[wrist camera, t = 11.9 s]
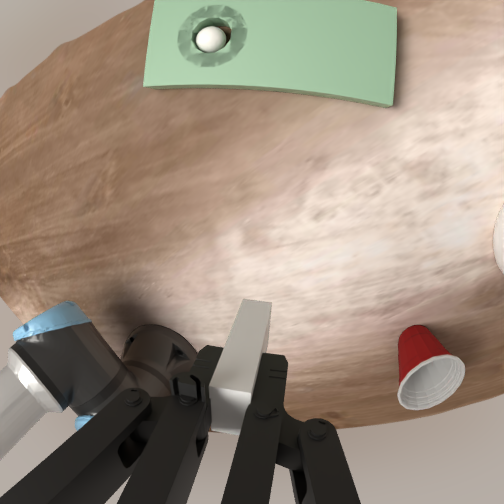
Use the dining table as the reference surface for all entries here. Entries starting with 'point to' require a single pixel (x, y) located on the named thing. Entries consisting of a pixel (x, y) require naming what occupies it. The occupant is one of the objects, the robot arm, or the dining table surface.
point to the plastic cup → (426, 369)
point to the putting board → (277, 47)
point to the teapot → (499, 240)
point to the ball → (211, 39)
